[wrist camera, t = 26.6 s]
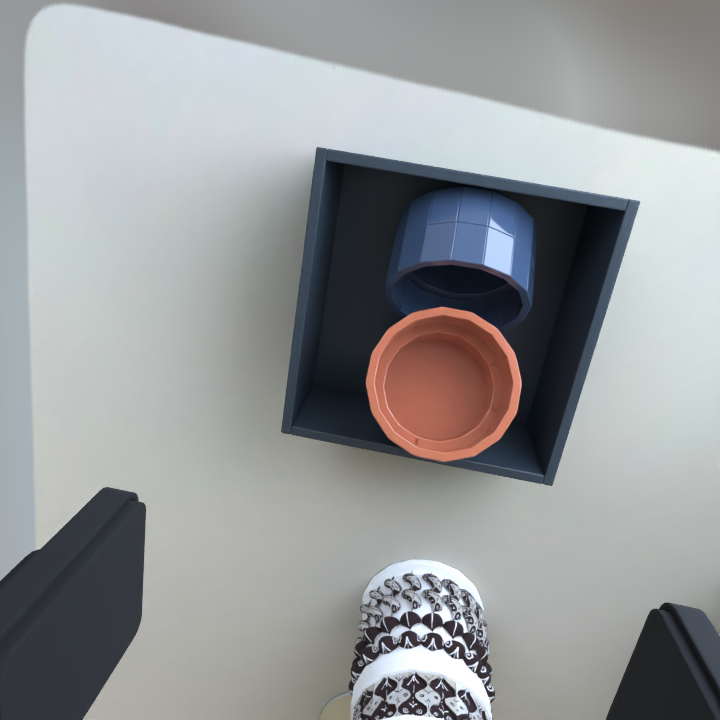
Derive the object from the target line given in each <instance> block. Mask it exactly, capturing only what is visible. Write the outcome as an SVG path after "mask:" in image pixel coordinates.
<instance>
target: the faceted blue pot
mask: <svg viewBox="0 0 720 720" xmlns="http://www.w3.org/2000/svg"><path fill="white" fill-rule="evenodd" d="M537 239H538V235H537V231H536V226H535V222H534V219H533V218H532V216H531V215H530V214H529V213H528V212H527V211H526V210H525V209H524V208H523V207H522V206H521V205H520V204H519V203H517V202H516V201H514V200H512V199H510V198H509V197H507V196H505V195H503V194H501V193H499V192H497V191H494V190H491V189H487V188H483V187H478V186H467V185H460V186H450V187H444V188H441V189H437V190H435V191H434V190H432V191H430V192H428V193H426V194H424V195H422V196H420V197H418V198H416V199H414V200H412V201H411V202H410V203H409V205H408V206H407V207H406V208H405V210H404V211H403V212H402V213H401V215H400V217H399V221H398V226H397V231H396V236H395V241H394V245H393V250H392V255H391V260H390V265H389V269H388V274H387V279H386V287H385V298H386V300H387V301H388V303H389V304H390V306H391V307H392V309H393V310H394V311H395V312H396V313H397V314H399V315H400V316H402V317H403V318H405V317H407V316H408V315H410V314H411V313H413V312H417V311H422V310H427V309H432V308H437V307H448V308H453V309H458V310H464V311H469V312H472V313H474V314H476V315H477V316H479V317H480V318H482V319H484V320H485V321H487V322H488V323H490V324H491V325H493V326H494V327H496V328H497V329H498V330H499V331H500V332H502V331H506V330H509V329H510V328H512V327H514V326H515V325H517V324H519V323H521V322H522V321H524V320H525V318H526V316H527V314H528V312H529V311H530V309H531V307H532V297H533V286H534V274H535V262H536V251H537Z"/></svg>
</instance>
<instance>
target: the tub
mask: <svg viewBox="0 0 720 720" xmlns="http://www.w3.org/2000/svg"><path fill="white" fill-rule="evenodd" d="M460 185H467V186H478V187H483V188H487V189H491V190H494V191H497V192H499V193H501V194H503V195H505V196H507V197H509V198H510V199H512V200H514V201H516V202H517V203H519V204H520V205H521V206H522V207H523V208H524V209H525V210H526V211H527V212H528V213H529V214H530V215H531V216H532V218H533V219H534V222H535V226H536V231H537V235H538V239H537V251H536V262H535V274H534V286H533V297H532V307H531V309H530V311H529V312H528V314H527V316H526V318H525V320H524V321H522V322H521V323H519V324H517V325H515V326H514V327H512V328H510V329H509V330H506V331H502V332H500V333H501V334H502V335H503V337H504V338H505V340H506V341H507V342H508V344H509V345H510V347H511V348H512V350H513V351H514V352H515V355H516V359H517V363H518V367H519V372H520V376H521V380H522V387H521V393H520V399H519V405H518V411H517V414H516V416H515V417H514V419H513V420H512V422H511V423H510V425H509V427H508V428H507V430H506V431H505V433H504V434H503V436H502V437H501V438H500V440H498V441H497V442H495V443H494V444H492V445H491V446H489V447H488V448H486V449H485V450H483V451H482V452H481V453H479V454H478V455H476V456H474V457H469V458H464V459H458V460H453V461H448V462H441V461H436V460H431V459H426V458H422V457H417V456H414V455H412V454H410V453H409V452H407V451H406V450H404V449H403V448H401V447H400V446H398V445H397V444H395V443H394V442H392V441H391V440H389V439H388V438H387V437H386V436H385V434H384V433H383V431H382V430H381V428H380V427H379V425H378V424H377V422H376V421H375V419H374V418H373V415H372V413H371V409H370V404H369V399H368V394H367V389H366V377H367V372H368V367H369V362H370V357H371V354H372V352H373V350H374V349H375V347H376V346H377V344H378V343H379V341H380V340H381V338H382V337H383V335H384V334H385V332H386V331H387V330H388V329H389V328H390V327H391V326H393V325H394V324H396V323H397V322H399V321H400V320H402V319H403V317H402V316H400V315H399V314H397V313H396V312H395V311H394V310H393V309H392V307H391V306H390V304H389V303H388V301H387V300H386V298H385V287H386V279H387V274H388V269H389V265H390V260H391V255H392V250H393V245H394V241H395V236H396V231H397V226H398V221H399V217H400V215H401V213H402V212H403V211H404V210H405V208H406V207H407V206H408V205H409V203H410V202H411V201H412V200H414V199H416V198H418V197H420V196H422V195H424V194H426V193H428V192H430V191H432V190H434V191H435V190H437V189H441V188H444V187H450V186H460ZM639 204H640V201H636V200H630V199H624V198H618V197H612V196H606V195H600V194H594V193H588V192H582V191H576V190H570V189H564V188H558V187H553V186H547V185H541V184H535V183H529V182H523V181H517V180H511V179H505V178H499V177H493V176H487V175H481V174H475V173H469V172H463V171H457V170H451V169H445V168H439V167H433V166H427V165H421V164H415V163H409V162H403V161H397V160H391V159H385V158H379V157H373V156H367V155H362V154H356V153H350V152H344V151H338V150H332V149H326V148H320V147H317V148H316V156H315V164H314V172H313V180H312V188H311V196H310V204H309V212H308V220H307V228H306V236H305V244H304V252H303V260H302V268H301V276H300V284H299V292H298V300H297V308H296V316H295V324H294V332H293V340H292V348H291V356H290V364H289V372H288V380H287V388H286V396H285V404H284V412H283V420H282V428H281V432H282V433H286V434H290V433H291V435H296V436H301V437H306V438H311V439H316V440H321V441H326V442H331V443H337V444H342V445H347V446H352V447H357V448H362V449H367V450H372V451H377V452H382V453H387V454H392V455H398V456H403V457H408V458H413V459H418V460H423V461H428V462H433V463H438V464H443V465H448V466H453V467H458V468H464V469H469V470H474V471H479V472H484V473H489V474H494V475H499V476H504V477H509V478H514V479H519V480H525V481H530V482H535V483H540V484H542V483H543V484H545V485H550V486H552V485H553V481H554V478H555V475H556V472H557V468H558V465H559V462H560V459H561V456H562V452H563V449H564V446H565V443H566V439H567V436H568V433H569V430H570V427H571V423H572V420H573V417H574V414H575V410H576V407H577V404H578V401H579V398H580V394H581V391H582V388H583V385H584V381H585V378H586V375H587V372H588V369H589V365H590V362H591V359H592V356H593V352H594V349H595V346H596V343H597V339H598V336H599V333H600V330H601V327H602V323H603V320H604V317H605V314H606V310H607V307H608V304H609V301H610V298H611V294H612V291H613V288H614V285H615V281H616V278H617V275H618V272H619V269H620V265H621V262H622V259H623V256H624V252H625V249H626V246H627V243H628V240H629V236H630V233H631V230H632V227H633V223H634V220H635V217H636V214H637V210H638V207H639Z"/></svg>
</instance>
